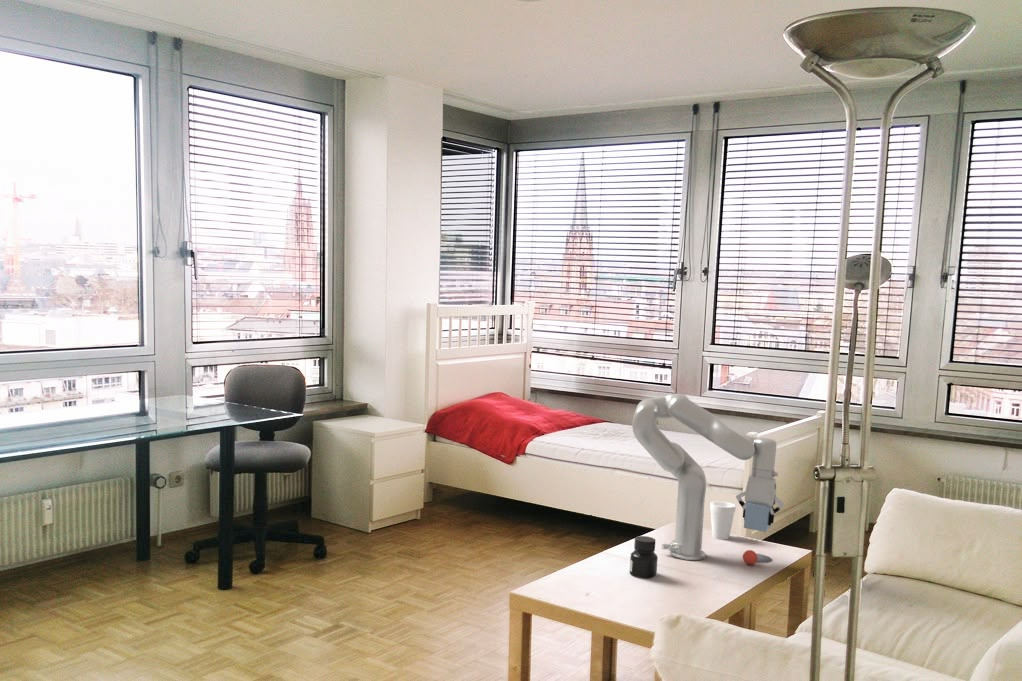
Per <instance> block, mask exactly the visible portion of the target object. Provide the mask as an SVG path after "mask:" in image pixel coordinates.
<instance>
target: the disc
mask: <svg viewBox="0 0 1022 681" xmlns="http://www.w3.org/2000/svg"><path fill="white" fill-rule="evenodd" d="M756 554H757V557H758V558H757V562H756V563H759V562H762V564H766V563H767V564H768V563H770V562H772V560H773V559H772V558H771V557H770V556H768V555H765V554H761V553H756ZM763 562H764V563H763ZM765 562H766V563H765Z"/></svg>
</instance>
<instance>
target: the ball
mask: <svg viewBox="0 0 1022 681" xmlns="http://www.w3.org/2000/svg"><path fill="white" fill-rule="evenodd" d="M757 554H758V553H756V552H755V551H754V550H752V549H747V550H746V551H744V552H743V553H742V560H743V562H744V563H745V564H747V565H749V566H753V565H755V564H756V563H758V562H757V558H758V557H757Z"/></svg>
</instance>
